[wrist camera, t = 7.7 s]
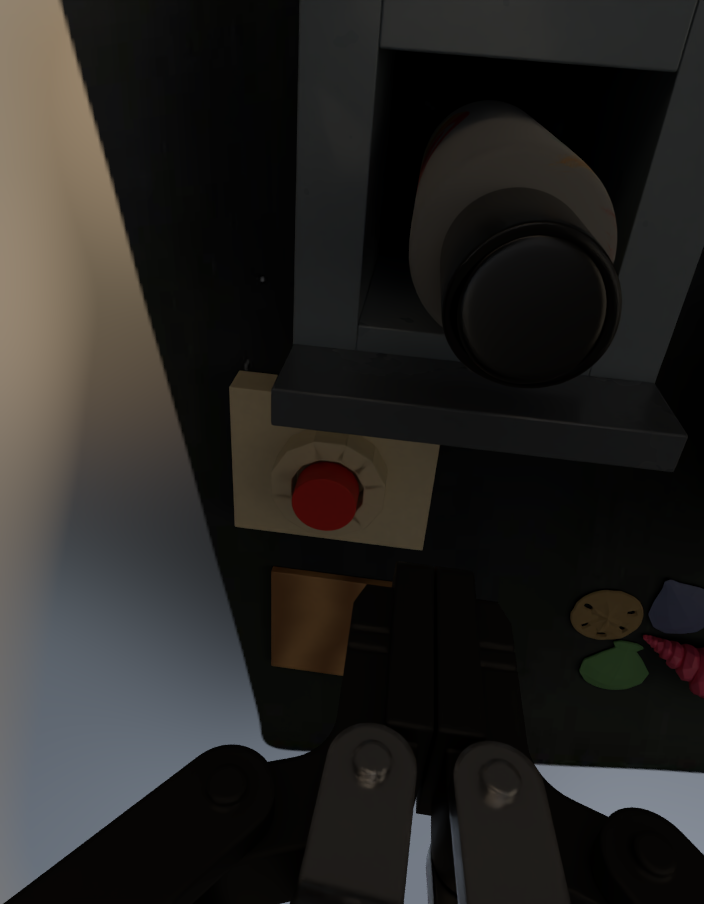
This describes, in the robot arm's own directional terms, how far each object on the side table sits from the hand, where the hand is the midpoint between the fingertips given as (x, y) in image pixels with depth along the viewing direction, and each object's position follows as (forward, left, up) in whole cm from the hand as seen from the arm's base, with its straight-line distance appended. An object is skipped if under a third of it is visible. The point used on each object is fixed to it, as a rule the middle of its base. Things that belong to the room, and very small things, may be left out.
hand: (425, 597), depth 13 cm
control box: (-4, -13, -24) cm, 27 cm away
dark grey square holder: (+2, +4, -24) cm, 24 cm away
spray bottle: (+2, +4, -24) cm, 25 cm away
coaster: (-3, -28, -24) cm, 37 cm away
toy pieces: (+19, -25, -24) cm, 39 cm away
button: (-4, -13, -20) cm, 24 cm away
